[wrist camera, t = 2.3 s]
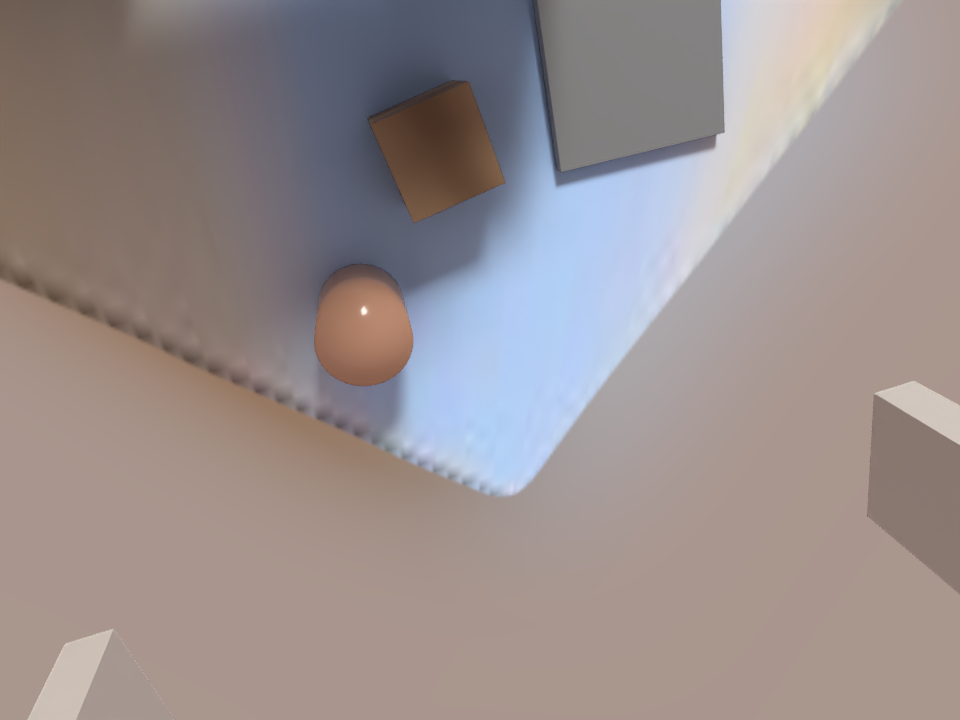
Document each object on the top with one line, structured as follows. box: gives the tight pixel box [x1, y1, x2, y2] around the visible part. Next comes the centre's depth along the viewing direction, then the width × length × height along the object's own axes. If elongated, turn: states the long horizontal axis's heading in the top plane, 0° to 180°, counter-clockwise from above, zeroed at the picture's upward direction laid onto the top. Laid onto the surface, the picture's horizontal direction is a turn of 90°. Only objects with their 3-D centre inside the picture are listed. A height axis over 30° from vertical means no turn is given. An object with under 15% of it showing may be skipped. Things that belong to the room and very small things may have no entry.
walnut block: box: [367, 80, 505, 223], centre depth 33 cm, size 5×5×5 cm
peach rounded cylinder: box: [314, 264, 413, 386], centre depth 36 cm, size 5×5×6 cm
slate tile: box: [533, 0, 725, 172], centre depth 35 cm, size 10×10×1 cm
